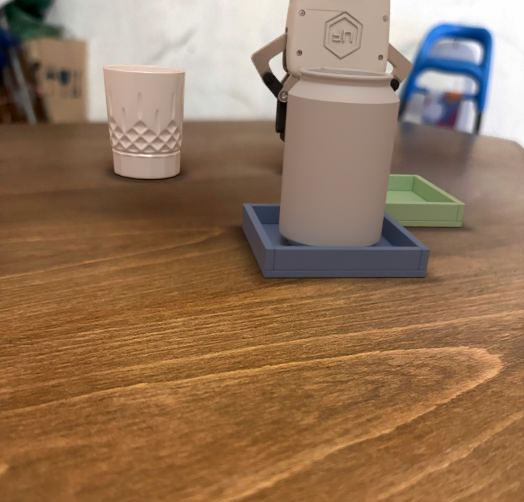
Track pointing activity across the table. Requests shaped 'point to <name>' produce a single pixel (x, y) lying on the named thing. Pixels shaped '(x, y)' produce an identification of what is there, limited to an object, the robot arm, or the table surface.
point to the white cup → (145, 119)
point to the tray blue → (331, 251)
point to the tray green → (421, 203)
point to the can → (337, 157)
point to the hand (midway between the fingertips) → (325, 141)
